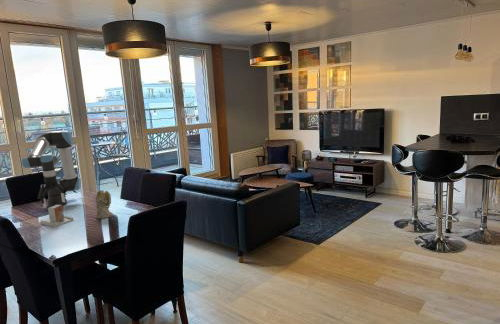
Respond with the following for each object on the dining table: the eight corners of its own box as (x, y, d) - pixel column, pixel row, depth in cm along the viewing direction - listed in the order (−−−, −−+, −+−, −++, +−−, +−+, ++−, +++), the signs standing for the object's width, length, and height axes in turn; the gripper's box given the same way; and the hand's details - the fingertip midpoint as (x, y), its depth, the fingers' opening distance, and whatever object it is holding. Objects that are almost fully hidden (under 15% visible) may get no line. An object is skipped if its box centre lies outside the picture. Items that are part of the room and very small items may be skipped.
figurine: (96, 220, 246) (92, 193, 242) (95, 216, 256) (91, 190, 253) (113, 217, 251) (110, 190, 248) (112, 213, 261) (108, 187, 258)
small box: (56, 222, 243) (53, 208, 242) (49, 222, 245) (47, 207, 243) (64, 218, 251) (62, 204, 249) (58, 218, 252) (56, 204, 251)
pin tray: (59, 217, 258) (58, 207, 257) (73, 220, 249) (71, 209, 247) (40, 223, 247) (38, 212, 245) (54, 226, 237) (52, 215, 236)
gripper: (63, 171, 254) (68, 199, 258) (28, 179, 234) (33, 209, 237) (69, 172, 250) (74, 200, 254) (34, 180, 230) (39, 210, 234)
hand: (54, 204), depth 246 cm, fingers open, 13 cm apart
